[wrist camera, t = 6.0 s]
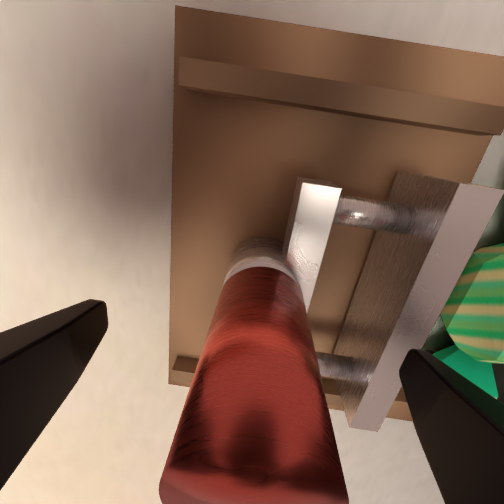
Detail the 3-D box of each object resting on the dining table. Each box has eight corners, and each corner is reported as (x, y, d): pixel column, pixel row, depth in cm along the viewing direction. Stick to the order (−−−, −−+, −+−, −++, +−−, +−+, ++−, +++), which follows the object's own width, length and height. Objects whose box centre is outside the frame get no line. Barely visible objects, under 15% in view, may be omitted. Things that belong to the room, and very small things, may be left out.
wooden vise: (732, 106, 10) (1335, 58, 4) (491, 416, 17) (599, 549, 11) (185, 21, 10) (77, -140, 4) (175, 368, 17) (129, 477, 11)
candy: (504, 160, 10) (686, 181, 7) (529, 167, 12) (684, 186, 9) (394, 374, 15) (475, 442, 12) (424, 356, 17) (501, 412, 14)
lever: (428, 175, 10) (1015, 291, 2) (352, 364, 14) (460, 650, 6) (244, 146, 10) (158, 158, 2) (220, 344, 14) (159, 604, 6)
